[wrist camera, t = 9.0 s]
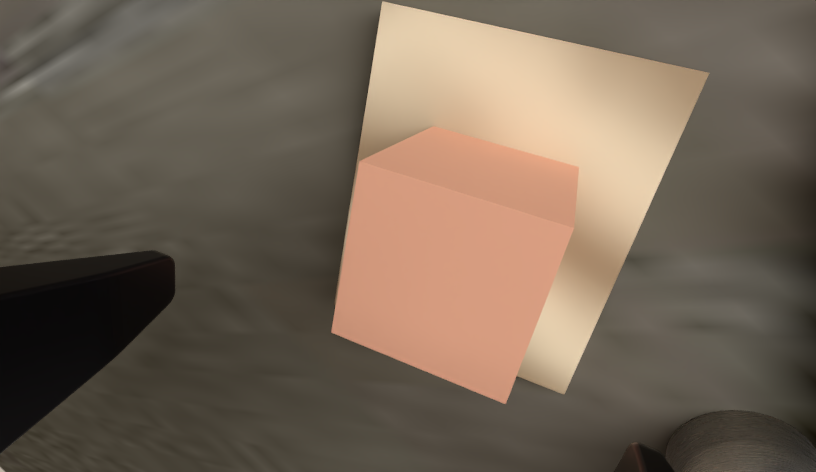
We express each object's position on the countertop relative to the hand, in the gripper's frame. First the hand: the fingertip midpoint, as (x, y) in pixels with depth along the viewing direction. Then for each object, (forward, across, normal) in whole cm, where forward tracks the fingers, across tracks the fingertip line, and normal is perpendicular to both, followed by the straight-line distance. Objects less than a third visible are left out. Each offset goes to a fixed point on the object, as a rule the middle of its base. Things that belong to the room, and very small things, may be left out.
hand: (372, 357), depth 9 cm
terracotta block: (+9, 0, 0) cm, 9 cm away
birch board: (+10, 0, 0) cm, 11 cm away
